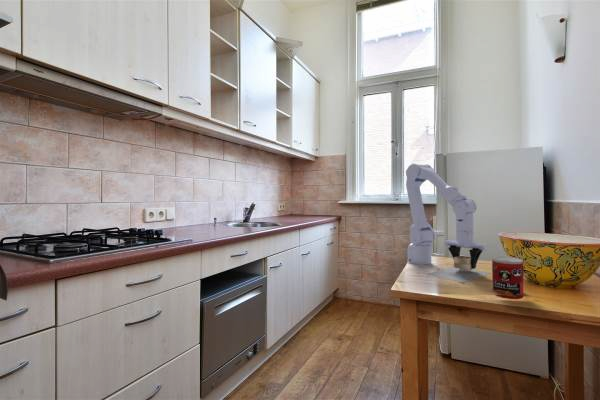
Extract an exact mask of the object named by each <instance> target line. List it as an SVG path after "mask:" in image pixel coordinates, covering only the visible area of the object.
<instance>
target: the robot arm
mask: <svg viewBox="0 0 600 400" xmlns="http://www.w3.org/2000/svg"><path fill="white" fill-rule="evenodd" d="M405 176H406V182H405V187H406V193H407V196H408V197H407V199H408V202H409V203H408V204H409V208H410V213H411V214H410V215H411V219H412V225H410V227H409V240H410V242H411V243H410V244H408V245H407V261H406V263H407V264H419V265H430V264H432V245H433V242H434V240H435V239H436V234H435V232H434V230H433V228H432V225H431V224H430V223H429V222H428V221H427V218H426V213H425V208H424V203H423V198H422V193H421V192H422V191H421V186H422V185H423V183H425V182H426V181H429V182H430V183H431V184H432V186H434V187H436V188H437V189H438V190H439V191H440V192H441V197H442V198H443V199H444V200H446V202H447V203H448V204H449V205H450V206H451V207H452V211H453V212H454V214H455V220H456V221H455V223H456V224H455V226H456V227H455V229H456V234H455V236H456V240H447V239H446V240H444V246H447V247H448V246H449V247H448V251H449V252H450V254H451V256H452V258H453V260H454V257H456V256H460V255H461V248H465V249H469V255H470V257H471V267H472V269H473V270H475V269H477V263H478V260H479V258H480V256H481V254H482V253H483V251H487V250H488V249H487V246H488V245H487V244H484V243H477V242H474V213H475V212H476V211H477V204H476V202H475V201H474V200H473V199H471V198H467V196H466V195H463V194H462V193H461V191H459V188H458V187H457V186H453V185H449V184H447V183H446V181H444V180H443V178H442V177H441V176H440V175H439V174H438V173H437V172H436V170H435V168H433V167H432V166H431V165H430V164H417V163H412V164H409V166H408V167H407V169H406V170H405ZM408 262H409V263H408ZM474 268H475V269H474Z"/></svg>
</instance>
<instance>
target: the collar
mask: <svg viewBox="0 0 600 400" xmlns="http://www.w3.org/2000/svg"><path fill="white" fill-rule="evenodd" d="M453 266H454V268H459V269H465V270H472V267H471V256H468V255H462V254H460V256H456V257H454V259H453ZM473 270H476V268H474V269H473Z"/></svg>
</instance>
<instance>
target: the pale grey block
mask: <svg viewBox="0 0 600 400" xmlns="http://www.w3.org/2000/svg"><path fill="white" fill-rule="evenodd" d="M459 271H461V272H466V273H468V272H471V270H465V269H459Z"/></svg>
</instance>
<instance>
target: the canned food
mask: <svg viewBox="0 0 600 400" xmlns="http://www.w3.org/2000/svg"><path fill="white" fill-rule="evenodd" d="M491 266H492V267H491V274H492V276H491V277H492V282H491V283H492V291H493V292H494V293H497V294H495V296H496V297H499V298H503V299H507V300H520V299H522V298H523V295H524V260H523V259H521V258H518V257H511V256H494V257H492V259H491Z"/></svg>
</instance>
